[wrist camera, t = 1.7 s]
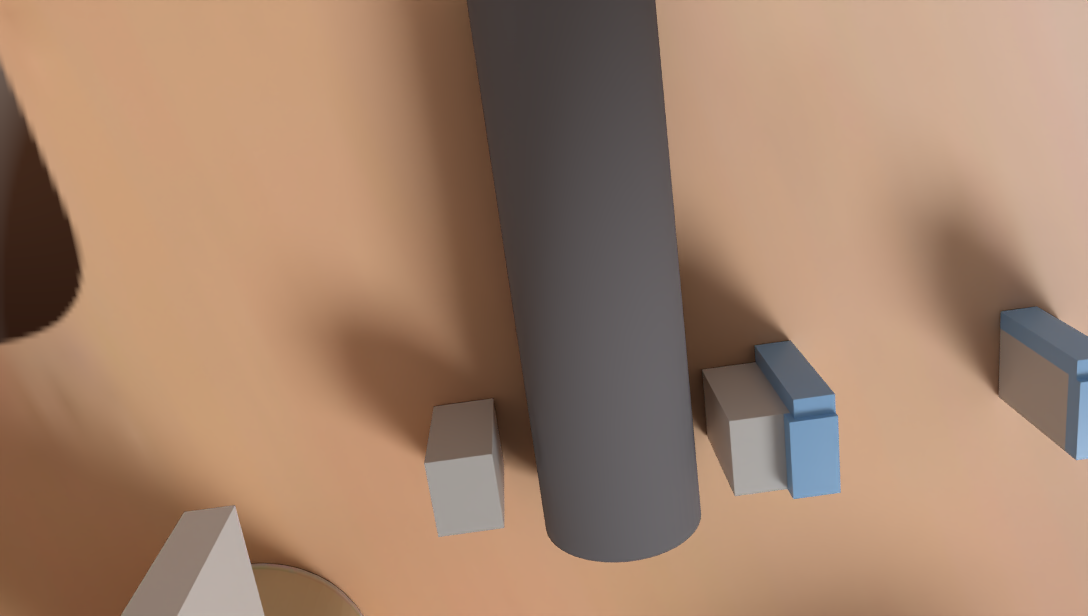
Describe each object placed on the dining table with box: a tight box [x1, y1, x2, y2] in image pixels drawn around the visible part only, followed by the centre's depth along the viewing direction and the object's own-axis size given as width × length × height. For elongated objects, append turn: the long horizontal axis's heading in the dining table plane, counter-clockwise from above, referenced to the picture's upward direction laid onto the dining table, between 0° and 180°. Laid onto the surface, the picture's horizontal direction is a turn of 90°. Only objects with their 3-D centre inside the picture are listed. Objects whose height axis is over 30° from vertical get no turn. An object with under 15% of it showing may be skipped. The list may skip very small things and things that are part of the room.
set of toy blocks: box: [424, 307, 1088, 537], centre depth 30 cm, size 21×3×5 cm, turn 97°
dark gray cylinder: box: [467, 0, 701, 562], centre depth 28 cm, size 5×17×5 cm, turn 7°
